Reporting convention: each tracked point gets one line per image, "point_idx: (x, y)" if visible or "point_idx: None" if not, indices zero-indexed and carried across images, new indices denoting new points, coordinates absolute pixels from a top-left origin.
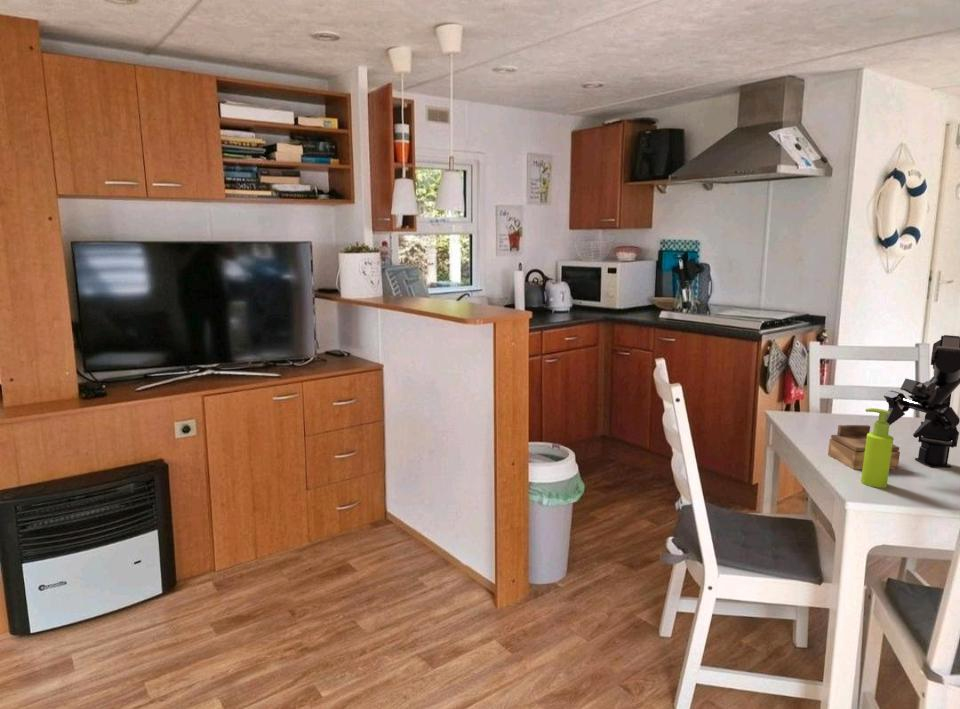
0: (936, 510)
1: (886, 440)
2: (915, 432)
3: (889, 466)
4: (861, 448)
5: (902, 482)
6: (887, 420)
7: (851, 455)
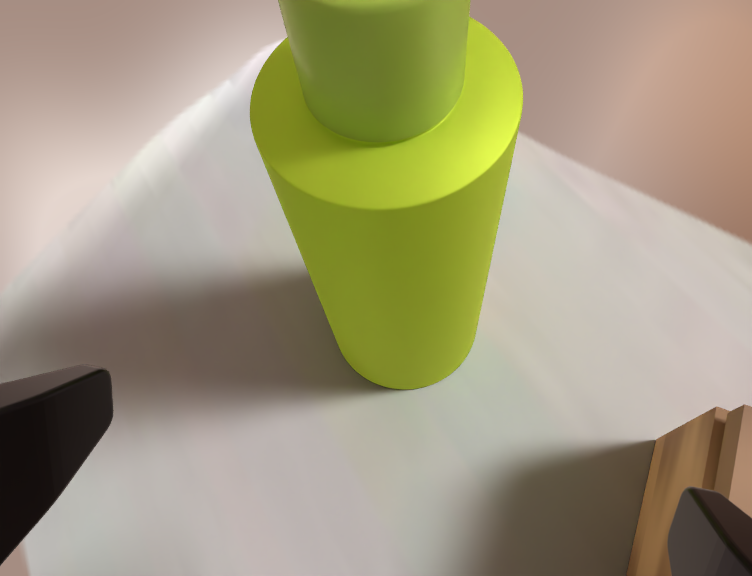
0: (28, 273)
1: (272, 59)
2: (57, 378)
3: (319, 297)
4: (730, 462)
5: (335, 526)
6: (731, 551)
7: None
